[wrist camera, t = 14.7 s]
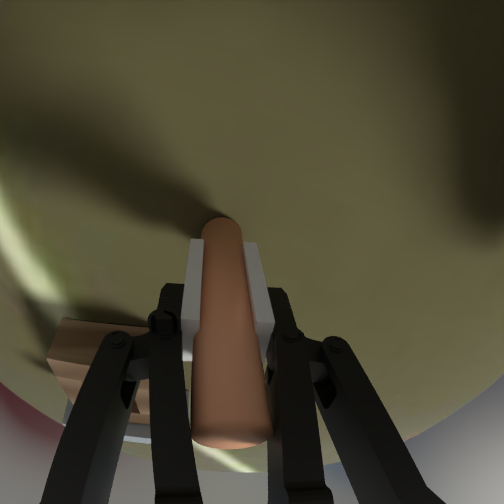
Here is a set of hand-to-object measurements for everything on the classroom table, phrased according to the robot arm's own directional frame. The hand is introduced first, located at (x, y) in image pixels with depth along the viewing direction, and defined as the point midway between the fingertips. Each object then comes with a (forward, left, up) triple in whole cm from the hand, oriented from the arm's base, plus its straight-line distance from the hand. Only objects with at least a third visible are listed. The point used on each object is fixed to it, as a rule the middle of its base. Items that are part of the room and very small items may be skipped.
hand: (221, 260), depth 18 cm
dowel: (0, 0, -3) cm, 3 cm away
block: (+14, -9, -3) cm, 17 cm away
